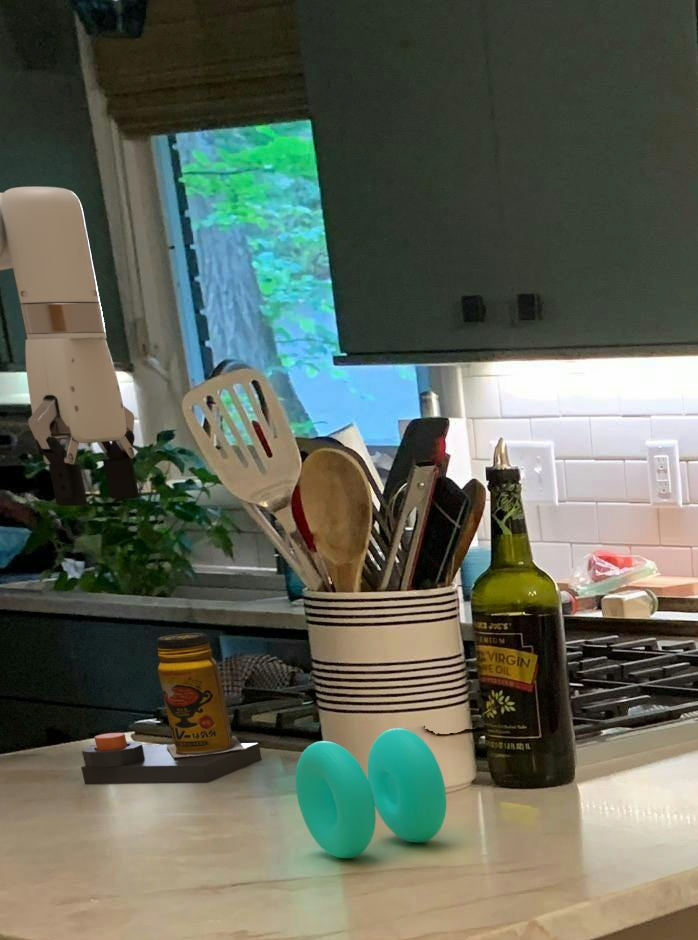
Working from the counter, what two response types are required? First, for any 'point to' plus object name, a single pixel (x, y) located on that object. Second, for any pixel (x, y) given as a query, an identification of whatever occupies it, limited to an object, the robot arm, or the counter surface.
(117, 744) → the button
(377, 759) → the donuts
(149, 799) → the counter surface
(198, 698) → the condiment
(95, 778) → the scale
